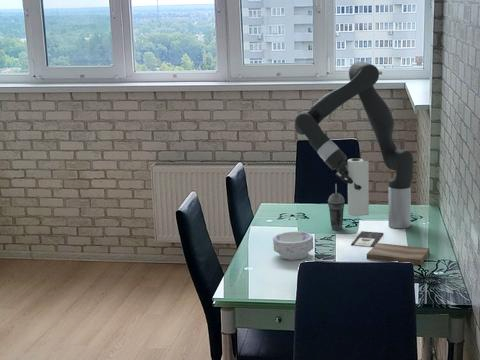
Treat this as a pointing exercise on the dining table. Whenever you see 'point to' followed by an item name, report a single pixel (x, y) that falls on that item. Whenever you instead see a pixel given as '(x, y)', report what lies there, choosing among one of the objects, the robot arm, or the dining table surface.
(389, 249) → the walnut board
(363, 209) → the paper towel roll
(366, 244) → the chocolate bar
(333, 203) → the beverage cup
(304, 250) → the grey marble bowl
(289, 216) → the dining table surface
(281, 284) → the dining table surface
